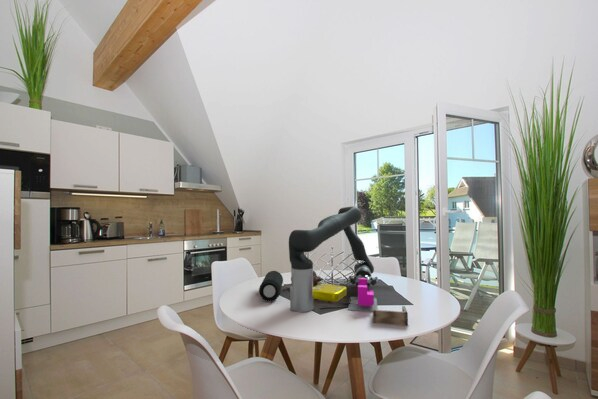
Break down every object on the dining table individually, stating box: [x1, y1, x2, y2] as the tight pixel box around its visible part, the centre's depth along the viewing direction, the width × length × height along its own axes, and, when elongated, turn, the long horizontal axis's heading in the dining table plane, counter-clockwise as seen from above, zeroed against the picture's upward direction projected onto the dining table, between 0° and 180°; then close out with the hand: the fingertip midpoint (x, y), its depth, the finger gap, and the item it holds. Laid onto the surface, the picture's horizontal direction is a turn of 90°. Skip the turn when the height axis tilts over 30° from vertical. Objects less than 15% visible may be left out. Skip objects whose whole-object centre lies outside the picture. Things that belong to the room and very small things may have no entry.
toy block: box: [357, 278, 375, 306], centre depth 127 cm, size 15×6×8 cm, turn 167°
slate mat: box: [347, 296, 379, 313], centre depth 129 cm, size 12×18×1 cm, turn 167°
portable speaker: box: [258, 270, 284, 302], centre depth 145 cm, size 26×10×10 cm, turn 0°
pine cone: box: [313, 270, 324, 287], centre depth 158 cm, size 18×10×10 cm, turn 83°
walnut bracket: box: [372, 304, 409, 326], centre depth 110 cm, size 12×8×4 cm, turn 77°
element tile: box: [313, 283, 348, 302], centre depth 142 cm, size 15×15×5 cm
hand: (362, 284), depth 129 cm, fingers closed on toy block, 3 cm apart
